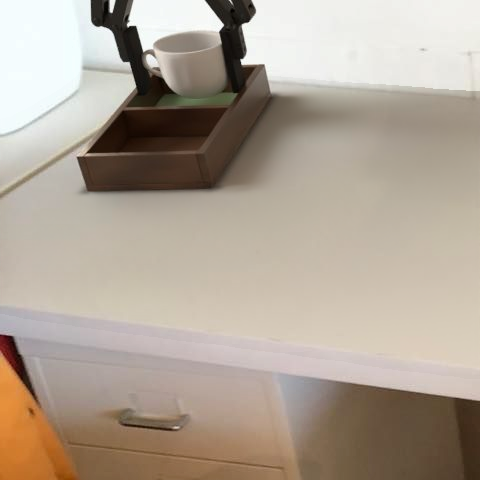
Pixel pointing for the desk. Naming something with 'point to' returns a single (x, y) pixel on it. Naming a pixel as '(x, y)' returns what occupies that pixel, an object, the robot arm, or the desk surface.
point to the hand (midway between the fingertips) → (192, 89)
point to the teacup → (191, 63)
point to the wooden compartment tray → (172, 136)
